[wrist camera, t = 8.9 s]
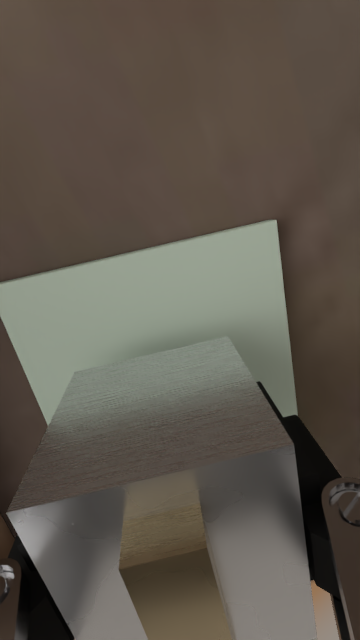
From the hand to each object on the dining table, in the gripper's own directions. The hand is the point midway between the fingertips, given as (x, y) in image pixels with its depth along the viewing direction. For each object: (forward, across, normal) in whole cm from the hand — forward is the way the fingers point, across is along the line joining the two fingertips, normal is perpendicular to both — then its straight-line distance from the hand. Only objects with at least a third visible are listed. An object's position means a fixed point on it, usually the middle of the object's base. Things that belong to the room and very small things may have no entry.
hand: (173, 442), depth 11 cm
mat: (+3, 0, 0) cm, 3 cm away
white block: (+1, 0, 0) cm, 1 cm away
